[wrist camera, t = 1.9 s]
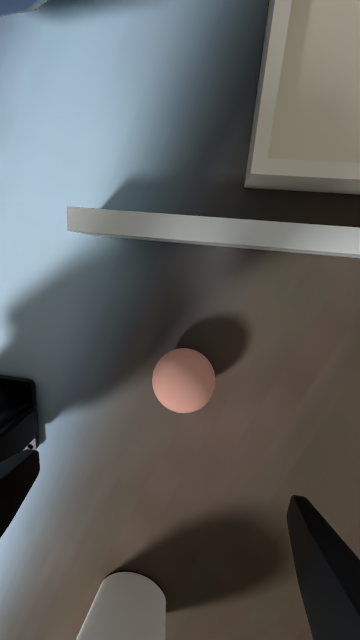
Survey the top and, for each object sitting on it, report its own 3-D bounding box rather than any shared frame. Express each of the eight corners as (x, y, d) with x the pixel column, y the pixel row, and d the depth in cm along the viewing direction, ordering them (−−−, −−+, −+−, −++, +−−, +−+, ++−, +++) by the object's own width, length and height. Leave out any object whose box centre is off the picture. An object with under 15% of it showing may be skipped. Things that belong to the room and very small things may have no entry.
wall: (93, 235, 16) (67, 230, 13) (93, 216, 16) (66, 206, 13) (422, 263, 14) (476, 264, 11) (429, 241, 14) (487, 236, 11)
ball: (157, 387, 18) (143, 421, 14) (161, 336, 17) (147, 358, 13) (211, 395, 18) (211, 432, 14) (218, 343, 17) (220, 368, 13)
